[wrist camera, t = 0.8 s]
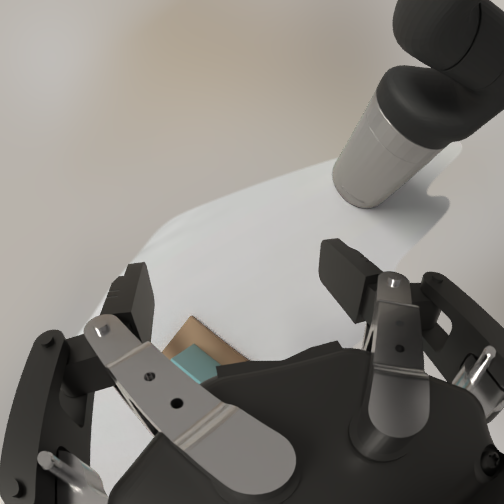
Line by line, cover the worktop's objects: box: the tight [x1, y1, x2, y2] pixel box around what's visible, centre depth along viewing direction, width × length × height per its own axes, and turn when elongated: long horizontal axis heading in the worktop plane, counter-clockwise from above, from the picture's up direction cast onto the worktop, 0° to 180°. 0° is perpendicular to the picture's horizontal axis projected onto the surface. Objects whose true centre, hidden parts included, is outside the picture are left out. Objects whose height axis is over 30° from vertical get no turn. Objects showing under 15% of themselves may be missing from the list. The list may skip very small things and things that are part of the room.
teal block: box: [171, 344, 221, 384], centre depth 27 cm, size 5×5×10 cm
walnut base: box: [162, 316, 249, 365], centre depth 30 cm, size 10×10×5 cm
